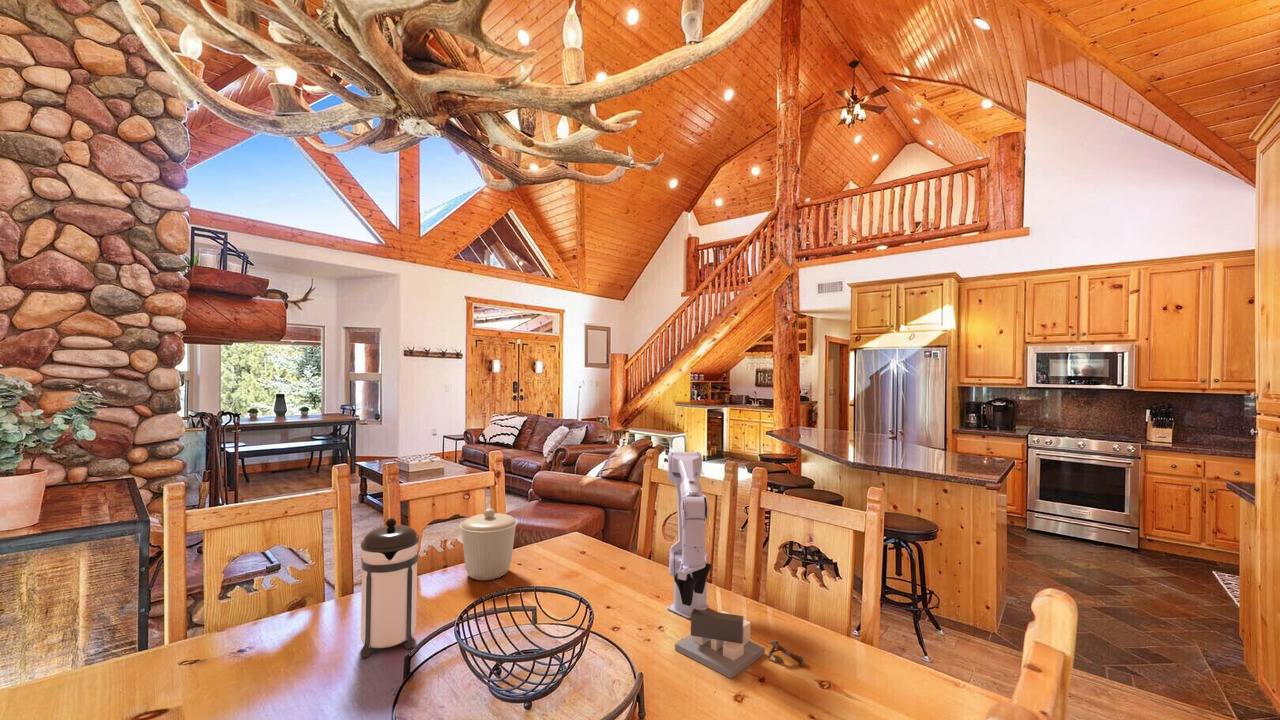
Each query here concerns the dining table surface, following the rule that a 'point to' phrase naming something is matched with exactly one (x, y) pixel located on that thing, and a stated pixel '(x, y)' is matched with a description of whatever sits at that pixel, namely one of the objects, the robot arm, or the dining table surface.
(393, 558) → the coffee press
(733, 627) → the charcoal rectangular block
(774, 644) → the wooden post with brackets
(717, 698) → the dining table surface
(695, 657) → the stand
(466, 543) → the canister
